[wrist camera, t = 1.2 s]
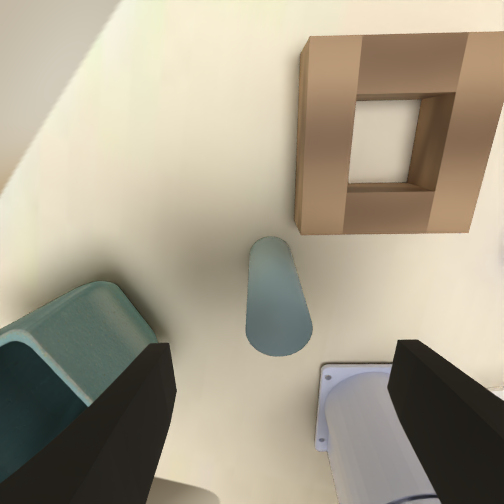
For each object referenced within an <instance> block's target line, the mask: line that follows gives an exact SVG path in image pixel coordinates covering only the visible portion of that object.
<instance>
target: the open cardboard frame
mask: <svg viewBox="0 0 504 504" xmlns="http://www.w3.org/2000/svg"><path fill="white" fill-rule="evenodd" d="M414 99H422V101H421V106H420V112H419V118H418V123H417V129H416V135H415V140H414V146H413V152H412V157H411V163H410V169H409V175H408V180H407V183H351V184H348V174H349V164H350V155H351V145H352V135H353V125H354V115H355V105H356V101H367V100H414ZM503 102H504V31H500V32H461V33H421V34H382V35H343V36H310V37H309V39H308V41H307V43H306V45H305V46H304V48H303V50H302V52H301V54H300V74H299V102H298V129H297V156H296V184H295V211H294V221H295V223H296V225H297V228H298V230H299V232H300V234H301V235H341V234H418V233H469V229H470V225H471V221H472V218H473V214H474V210H475V207H476V203H477V199H478V195H479V192H480V188H481V184H482V181H483V177H484V173H485V169H486V166H487V162H488V158H489V155H490V151H491V147H492V143H493V140H494V136H495V132H496V128H497V125H498V121H499V117H500V114H501V110H502V106H503Z"/></svg>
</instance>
